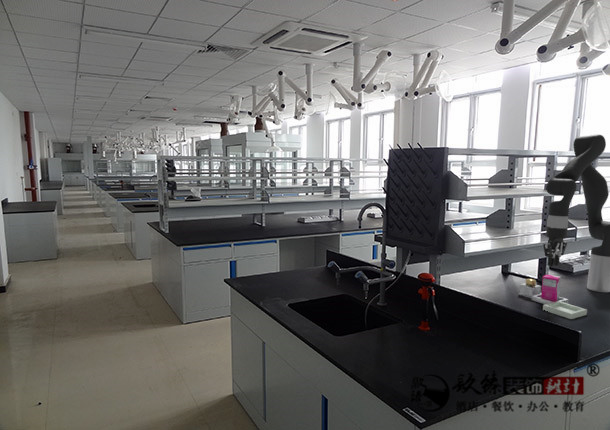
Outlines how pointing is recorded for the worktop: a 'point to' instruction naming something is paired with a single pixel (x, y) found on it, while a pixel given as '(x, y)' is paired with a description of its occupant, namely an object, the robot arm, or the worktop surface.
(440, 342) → the worktop surface
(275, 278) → the worktop surface
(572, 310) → the tray
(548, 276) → the supplement box
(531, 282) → the yellow knob
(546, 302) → the socket block
